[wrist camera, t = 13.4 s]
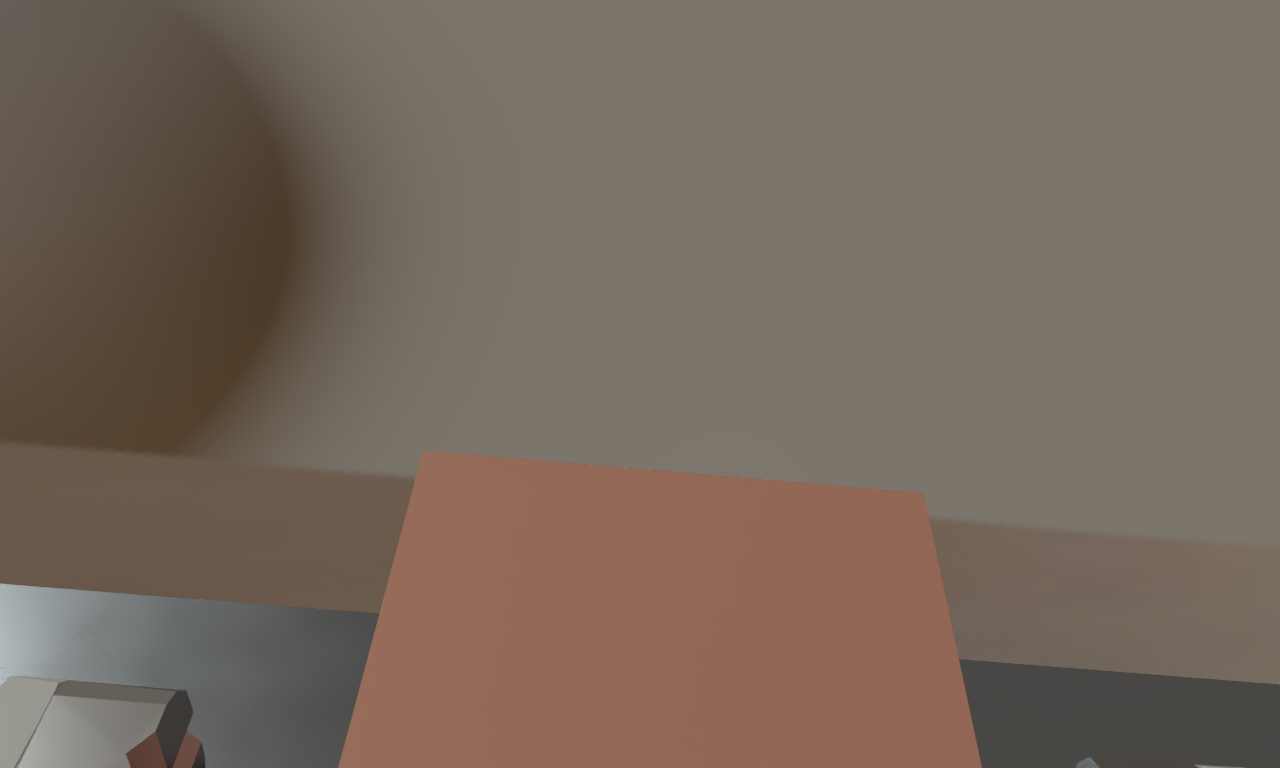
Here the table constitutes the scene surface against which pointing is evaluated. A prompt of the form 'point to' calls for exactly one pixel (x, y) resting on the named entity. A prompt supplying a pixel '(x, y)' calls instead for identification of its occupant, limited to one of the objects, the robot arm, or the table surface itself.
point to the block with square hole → (340, 640)
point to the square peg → (658, 625)
